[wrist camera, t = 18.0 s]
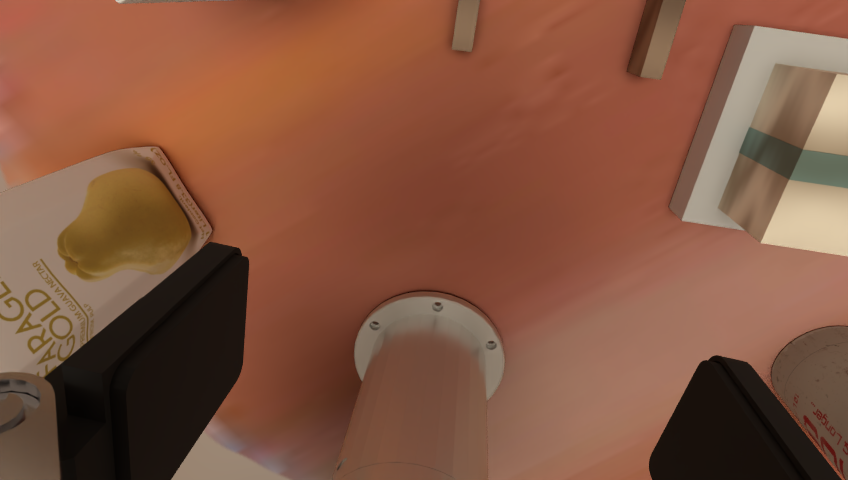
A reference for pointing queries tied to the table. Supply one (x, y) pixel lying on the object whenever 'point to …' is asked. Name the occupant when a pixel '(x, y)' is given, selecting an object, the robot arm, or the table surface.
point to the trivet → (742, 111)
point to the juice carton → (88, 251)
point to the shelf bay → (649, 42)
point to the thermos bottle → (818, 388)
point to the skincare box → (157, 0)
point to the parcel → (795, 163)
